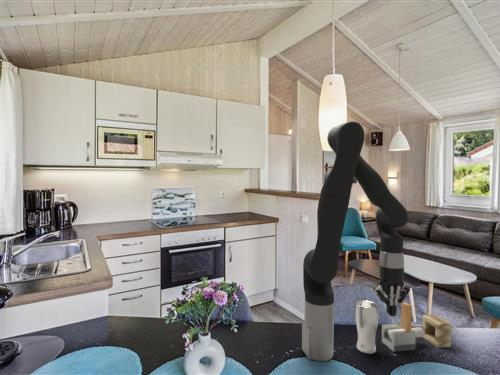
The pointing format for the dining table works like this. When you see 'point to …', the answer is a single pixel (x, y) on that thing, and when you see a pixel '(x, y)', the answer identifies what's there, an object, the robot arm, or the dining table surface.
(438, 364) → the dining table surface
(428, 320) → the socket
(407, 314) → the hammer
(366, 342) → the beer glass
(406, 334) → the gray u-shaped block
